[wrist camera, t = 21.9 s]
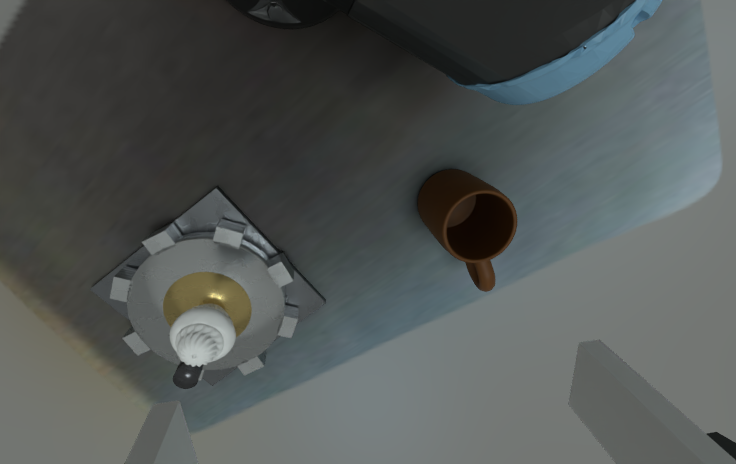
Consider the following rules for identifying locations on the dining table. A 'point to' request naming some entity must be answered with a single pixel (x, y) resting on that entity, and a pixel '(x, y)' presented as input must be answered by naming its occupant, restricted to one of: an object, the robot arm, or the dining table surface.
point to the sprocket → (206, 295)
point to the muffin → (202, 334)
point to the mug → (468, 220)
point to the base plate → (206, 220)
